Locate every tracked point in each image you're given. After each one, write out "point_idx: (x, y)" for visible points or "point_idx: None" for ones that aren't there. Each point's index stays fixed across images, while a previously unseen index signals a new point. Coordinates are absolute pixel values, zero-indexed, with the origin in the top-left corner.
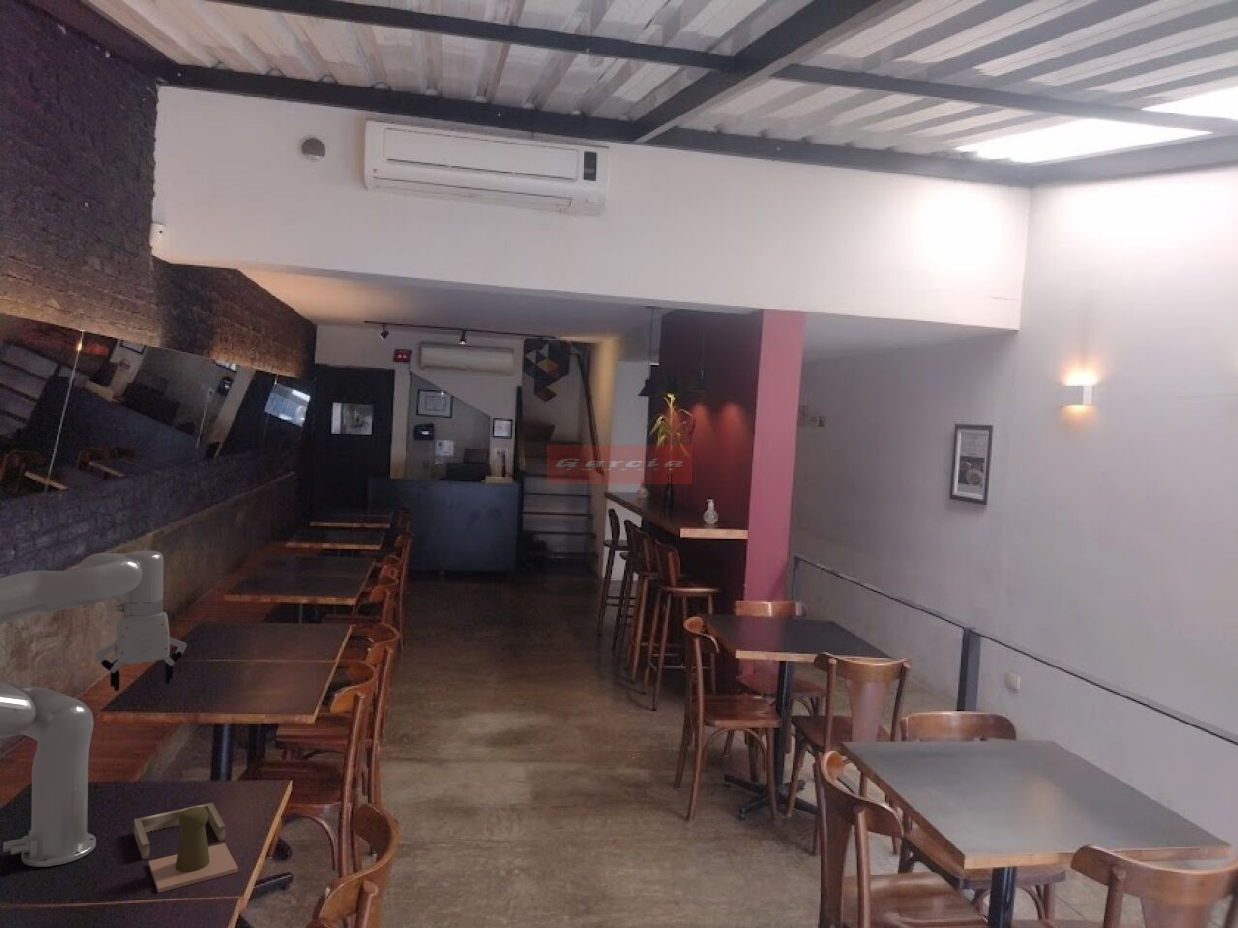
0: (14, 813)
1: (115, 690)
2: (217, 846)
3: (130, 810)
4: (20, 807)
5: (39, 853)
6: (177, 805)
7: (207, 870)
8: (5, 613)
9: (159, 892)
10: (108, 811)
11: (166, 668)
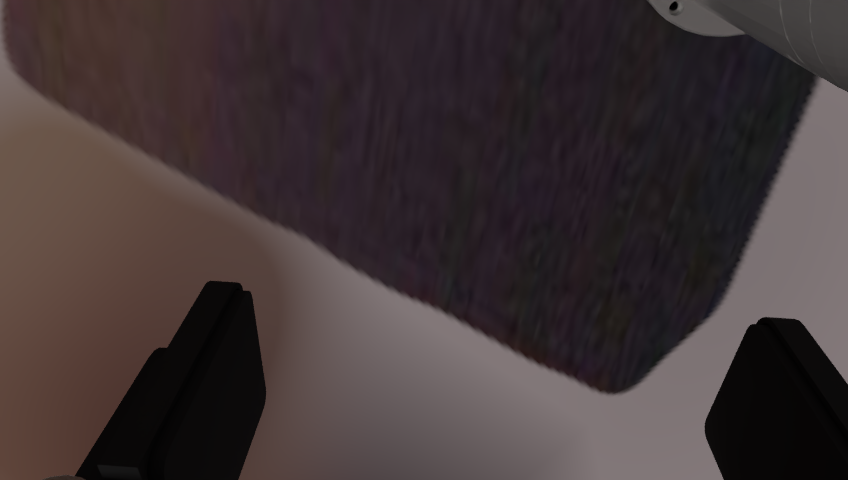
0: (725, 276)
1: (794, 319)
2: None
3: (472, 125)
4: (700, 302)
5: None
6: (341, 80)
7: None
8: None
9: None
10: (527, 154)
11: (165, 447)
